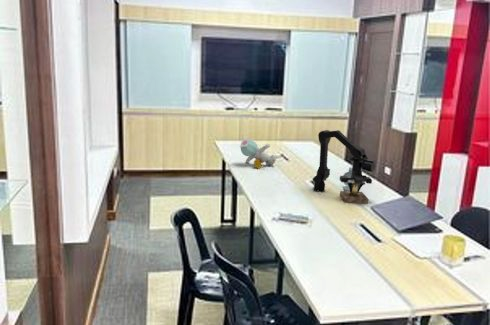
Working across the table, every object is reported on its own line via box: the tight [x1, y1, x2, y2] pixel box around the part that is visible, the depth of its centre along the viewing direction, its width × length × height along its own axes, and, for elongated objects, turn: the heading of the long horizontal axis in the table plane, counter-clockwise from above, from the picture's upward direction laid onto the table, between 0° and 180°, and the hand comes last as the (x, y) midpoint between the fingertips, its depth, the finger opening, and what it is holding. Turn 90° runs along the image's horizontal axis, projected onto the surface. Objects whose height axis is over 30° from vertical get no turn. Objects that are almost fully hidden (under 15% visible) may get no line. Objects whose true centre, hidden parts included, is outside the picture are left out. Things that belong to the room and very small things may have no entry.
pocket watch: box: [342, 171, 354, 191], centre depth 297 cm, size 10×11×15 cm
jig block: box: [339, 190, 369, 204], centre depth 279 cm, size 14×14×3 cm
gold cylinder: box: [351, 182, 359, 196], centre depth 278 cm, size 4×4×9 cm
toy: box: [239, 137, 277, 170], centre depth 342 cm, size 32×18×30 cm
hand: (354, 192), depth 279 cm, fingers closed on gold cylinder, 4 cm apart
